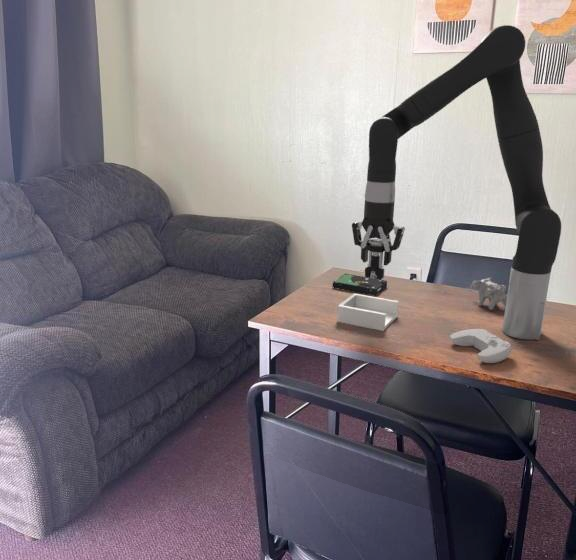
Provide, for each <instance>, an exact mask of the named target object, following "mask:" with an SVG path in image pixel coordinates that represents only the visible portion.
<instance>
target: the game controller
mask: <svg viewBox="0 0 576 560" xmlns="http://www.w3.org/2000/svg"><path fill="white" fill-rule="evenodd" d="M449 340H450V342H451V343H452V344H453V345H456V346H461V347H462V346H463V347H474V348H476V349H477V350H479V351H480V352H479V353H477V356H476V359H478V360H480V361H481V362H482V363H485V364H496V363H499V362H501V361H504V360H506V359H507V358H509V356H510V355H511V354H512V345H511V343H510V342H508V340H503V339H501V338H499V337H498V336H497V334H496V335H495V334H492V333H491V332H489V331H488V330H486V329H484V328H471V329H466V330H464V329H463V330H460V331H456V332H454V333H451V334H450V336H449Z"/></svg>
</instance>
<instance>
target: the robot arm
mask: <svg viewBox="0 0 576 560" xmlns="http://www.w3.org/2000/svg"><path fill="white" fill-rule="evenodd" d="M525 49H526V38H525V36H524V33H523V32H522V31H521V29H519V28H518V27H516V26H514V25H507V24H506V25H505V24H504V25H500V26H496V27H495V28H493V29H491V30H490V31H489V32H488V33H487V34H486V35H485V36H484V37H483V38H482V39H481V41H480V43H479V44H478V45H477V46H476V47H475V48H474V49H473V50H472V51H470V53H469V54H467V55H466V56H465V57H463V59H461V60H460V61H459V62H457V63H456V64H455V65H453V66H452V67H450V68H449V69H448V70H446V71H444V72H443V73H441V74H440V75H438V76H437V77H435V78H433V79H432V80H430V81H429V82H426V84H425V85H423V86H421V87H420V88H419V89H417V90H415V91H414V92H413V93H412V94H410V95H409V96H407V98H405V99H404V100H403V101H402V102H401V103H400V104H399V105H397V106H396V107H394V108H392V109H391V110H390V111H388V112H387V113H385V114H384V115H382V116H381V117H379V118H378V119H376V120H374V121H373V122H372V124H371V126H370V128H369V133H368V162H367V163H368V165H367V175H366V186H365V191H364V205H363V206H364V209H363V219H362V221H354V222H353V223H352V224H351V229H352V236H353V242H354V246H358V247H360V260H362V262H363V263H367V262H369V251H368V250H367V246H366V244H367V243H369V242H370V240H372V239H379V240H382V243H383V244H384V247H385V251H384V252H383V266H388V265H389V264H391V261H392V255H393V254H392V253H393V251H396V250H398V249H399V248H400V247H401V242H402V240H403V236H404V233H405V230H406V229H405V226H398V225H396V224H395V223H394V215H395V201H396V175H397V173H396V172H397V162H396V157H397V150H398V142H399V139H400V138H401V137H403V136H404V135H405V134H407V133H408V132H409V131H411V130H412V129H414V128H415V127H417V126H419V125H421V124H423V123H424V122H426V121H427V120H429V119H430V118H431V117H433V116H434V115H436V114H438V113H439V112H440V111H441V110H444V108H446V107H447V106H448V105H449V104H450V103H452V102H453V101H455V99H457V98H459V97H460V96H461V95H462V94H463V93H465V92H467V90H469V89H471V88H472V87H474V86H475V85H477V84H479V83H480V82H482V81H483V80H485V79H486V81H487V85H488V88H489V91H490V92H489V93H490V95H491V101H492V111H493V118H494V124H495V129H496V130H495V131H496V137H497V141H498V146H499V151H500V155H501V159H502V162H503V165H504V169H505V173H506V176H507V178H508V181H509V184H510V189H511V193H512V201H513V207H514V208H513V210H514V223H515V228H516V231H517V233H518V238H517V239H518V240H517V244H516V245H517V246H516V251H515V254H514V256H513V257H512V260H511V267H510V274H509V280H508V281H509V282H508V285H507V286H508V289H507V294H506V295H507V300H506V306H504V308H505V309H504V314H503V315H504V316H503V321H502V329H501V330H502V332H503V333H504V334H505V335H506V336H508V337H512V338H516V339H520V340H537V341H540V338H541V334H542V331H543V329H542V328H543V323H544V319H545V318H544V317H545V313H546V312H545V311H546V306H547V301H548V299H547V297H548V292H549V285H550V279H551V275H552V274H551V272H552V267H553V265H554V264H555V261H556V259H557V255H558V249H559V245H560V240H561V234H562V220H561V218H560V216H559V214H558V213H557V212H556V211H554V210H553V209H552V208H551V206H550V204H549V201H548V200H549V199H548V196H547V194H546V191H545V190H546V188H545V185H544V179H543V168H544V166H543V165H544V149H543V148H544V147H543V141H542V136H541V132H540V130H541V129H540V127H539V121H538V118H537V115H536V113H535V110H534V108H533V105H532V103H531V101H530V99H529V97H528V95H527V92H526V89H525V86H524V82H523V77H522V69H521V59H522V57H523V55H524V52H525ZM362 228H363V230H364V231H365V234H364V236H363V239H362V233H361V229H362ZM393 230H394V231H393ZM392 231H393V234H394V235H395V237H394V239H393V244H392V239H391V236H390V235H391V234H390V233H391V232H392Z"/></svg>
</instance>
